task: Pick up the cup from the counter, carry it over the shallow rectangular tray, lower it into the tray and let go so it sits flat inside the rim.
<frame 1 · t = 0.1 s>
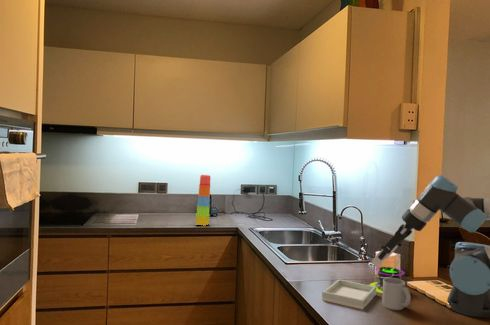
hand: (379, 260, 146), 15 cm above the worktop, tool tilted 35°, fingers open, 13 cm apart
toy cauldron: (388, 289, 162), on the worktop
cup: (396, 308, 142), on the worktop
shallow rectangular tray: (349, 297, 151), on the worktop
stacking cups: (202, 225, 281), on the worktop
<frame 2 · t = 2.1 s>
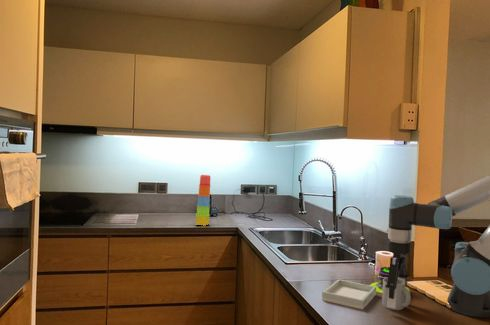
hand: (395, 301, 142), 2 cm above the worktop, tool pointing down, fingers open, 13 cm apart
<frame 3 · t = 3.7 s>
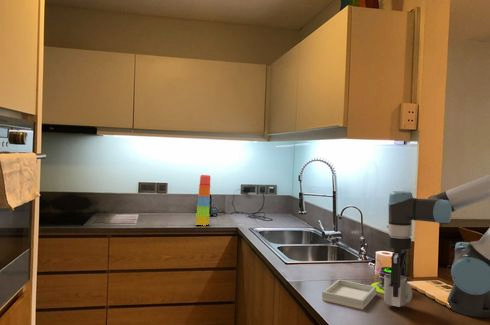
hand: (398, 302, 142), 2 cm above the worktop, tool pointing down, fingers closed on cup, 7 cm apart
cup: (398, 304, 141), point 1 cm above the worktop, touching gripper
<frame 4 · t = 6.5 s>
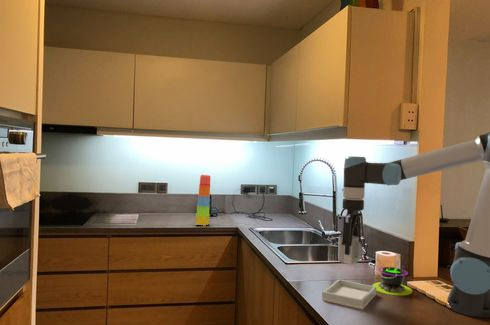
hand: (350, 260, 150), 14 cm above the worktop, tool pointing down, fingers closed on cup, 7 cm apart
cup: (350, 262, 150), point 13 cm above the worktop, touching gripper
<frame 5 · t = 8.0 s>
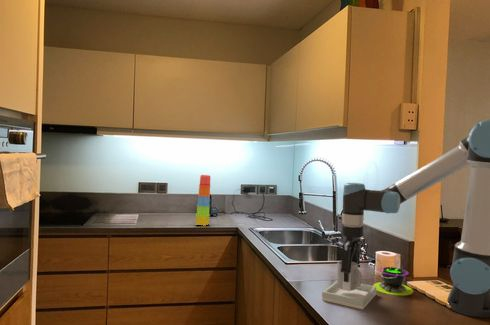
hand: (349, 287, 151), 4 cm above the worktop, tool pointing down, fingers closed on cup, 7 cm apart
cup: (349, 288, 150), point 3 cm above the worktop, touching gripper
when the fingers open (3 cm above the worktop, at t = 9.1 s): cup drops 1 cm, resting on shallow rectangular tray.
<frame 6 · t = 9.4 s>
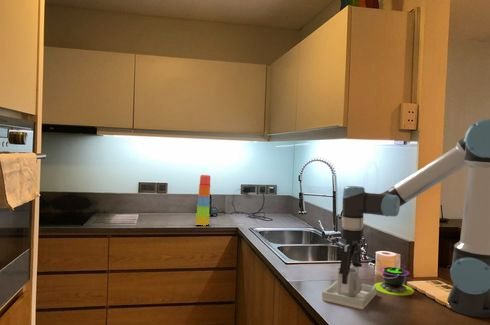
hand: (350, 287, 151), 3 cm above the worktop, tool pointing down, fingers open, 11 cm apart
cup: (349, 295, 150), point 1 cm above the worktop, touching shallow rectangular tray
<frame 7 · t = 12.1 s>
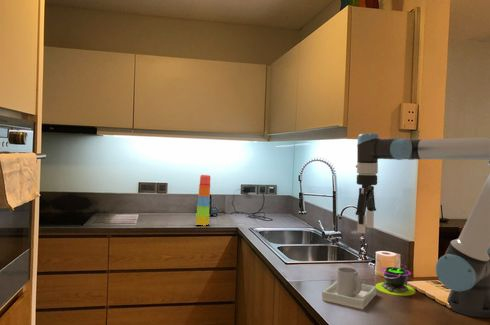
hand: (365, 230, 156), 24 cm above the worktop, tool pointing down, fingers open, 13 cm apart
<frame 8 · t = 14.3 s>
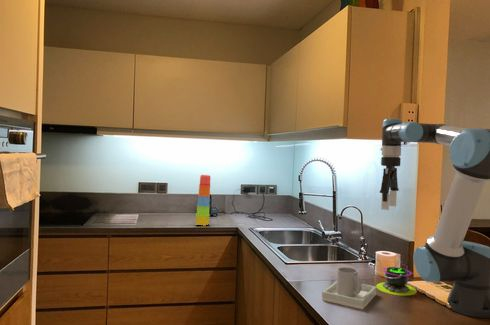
hand: (388, 207, 170), 31 cm above the worktop, tool pointing down, fingers open, 13 cm apart
at the end: cup inside the target area on the shallow rectangular tray (0.6 cm from its centre), point 0.8 cm above the shallow rectangular tray's base; cup tilted 0°; the gripper is holding nothing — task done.
